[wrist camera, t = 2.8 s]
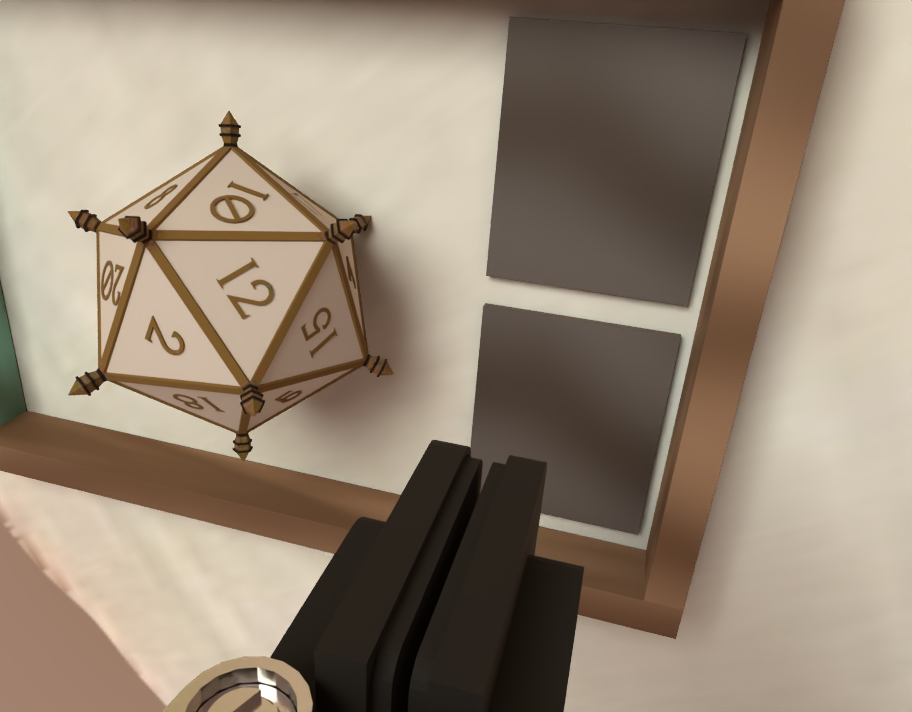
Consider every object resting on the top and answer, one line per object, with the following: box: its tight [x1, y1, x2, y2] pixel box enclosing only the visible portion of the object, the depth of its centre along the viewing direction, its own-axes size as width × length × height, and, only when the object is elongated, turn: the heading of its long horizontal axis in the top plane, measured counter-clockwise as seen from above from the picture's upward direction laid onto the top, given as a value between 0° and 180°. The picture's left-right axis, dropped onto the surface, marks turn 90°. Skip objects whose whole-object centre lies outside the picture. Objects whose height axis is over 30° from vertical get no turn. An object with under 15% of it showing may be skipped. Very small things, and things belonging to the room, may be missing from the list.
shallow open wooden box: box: [0, 0, 845, 639], centre depth 23 cm, size 19×28×2 cm
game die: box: [68, 111, 394, 462], centre depth 20 cm, size 9×8×10 cm
